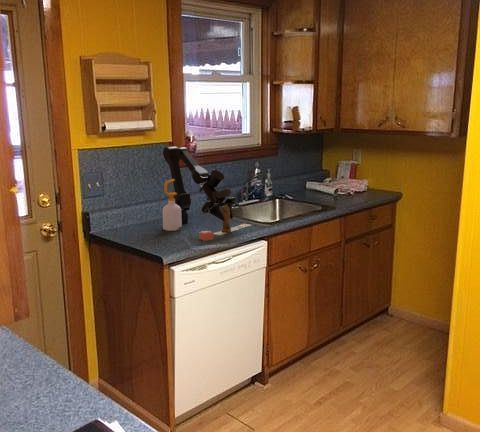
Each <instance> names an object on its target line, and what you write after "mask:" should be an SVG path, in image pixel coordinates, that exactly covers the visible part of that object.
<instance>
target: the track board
mask: <svg viewBox="0 0 480 432" xmlns="http://www.w3.org/2000/svg"><path fill="white" fill-rule="evenodd" d="M246 227H251V224H247V223H242V224H239V225H236V226H233V227H230V228H231V232H234V231H239V230H241V229H244V228H246ZM231 232H222V230H219V231H216V232H213V235H217V236H222V235H225V234H228V233H231Z"/></svg>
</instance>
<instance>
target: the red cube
mask: <svg viewBox="0 0 480 432" xmlns="http://www.w3.org/2000/svg"><path fill="white" fill-rule="evenodd" d="M213 233H214V232H213V231H210V230H205V231H204V230H202V231H199V233H198V234H199V240H202V241H203V242H204V241H212V240H214V234H213Z"/></svg>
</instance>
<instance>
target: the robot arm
mask: <svg viewBox="0 0 480 432" xmlns="http://www.w3.org/2000/svg"><path fill="white" fill-rule="evenodd" d="M162 155H163V159H164V162H166V163H167V165H168V166H169V171H170V175H171V179H175V181H173V182H172V185H173V188H174V192H175V193H177V194H176V195H174V196H173V199H175V204H177V205H178V206H180V208H181V220H182V224H188V223H189V214H188V212H187V211H190V207H191V204H192V199H191V195H190V192H187V191H186V190H185V185H184V181H183V176H182V172H181V168H180V160H181V161H182V162H183V163H184V165H185V166H186V167H187V168H188V170H189V171H190V172H191V178H192V180H193V182H194V183H195V184H196V185H200V188H199V192H201V193H204V194H205V196H206V199H205V200H206V202H205V203H204V204H203V206H202V207H201V212H202V213H203V214H208V215H210V214H211V215H212V216H214V217H216V218H218V219H219V220H221V221H222V220H223V221H224V220H225V219H224V217H223V215H222V211H221V210H220V207H222V208H223V207H224V206H226V205H227V206H228V207H229V211H230V220H232V219H234V215H233V212H232V207H233V206H234V205H235V204H236V203H237V201H238V200H237V199H236V197H234V196H233V197H230V196H231V194H232V191H231V189H230V188H229V187H226V188H224V189H222V190H218V189H217V188H218V187H219V185H221V183H222V182H223V181H224V180H225V175H224V173H222V172H221V171H219V170H218V169H217V168H216V169H212V171H210V172H208V170H206V168H203V167H201V166H200V165H199V163H198V162H197V161H196V159H194V157H193V156H192V155H191V153H190V152H189V149H188V148H187V147H178V146H167V147H166V146H165V147H164V148H163V151H162ZM227 197H228V198H227Z"/></svg>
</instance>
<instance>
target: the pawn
mask: <svg viewBox="0 0 480 432" xmlns="http://www.w3.org/2000/svg"><path fill="white" fill-rule="evenodd" d="M221 213H222V215H223V217H224V219H225V220H224V221H223V220H221V222H222V225H221V226H222V227H221V231H222V232H229V233H231V228H232V227H231V218H230V211H229V207H228V206H227V205H226V206H224V207H222V211H221Z"/></svg>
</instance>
